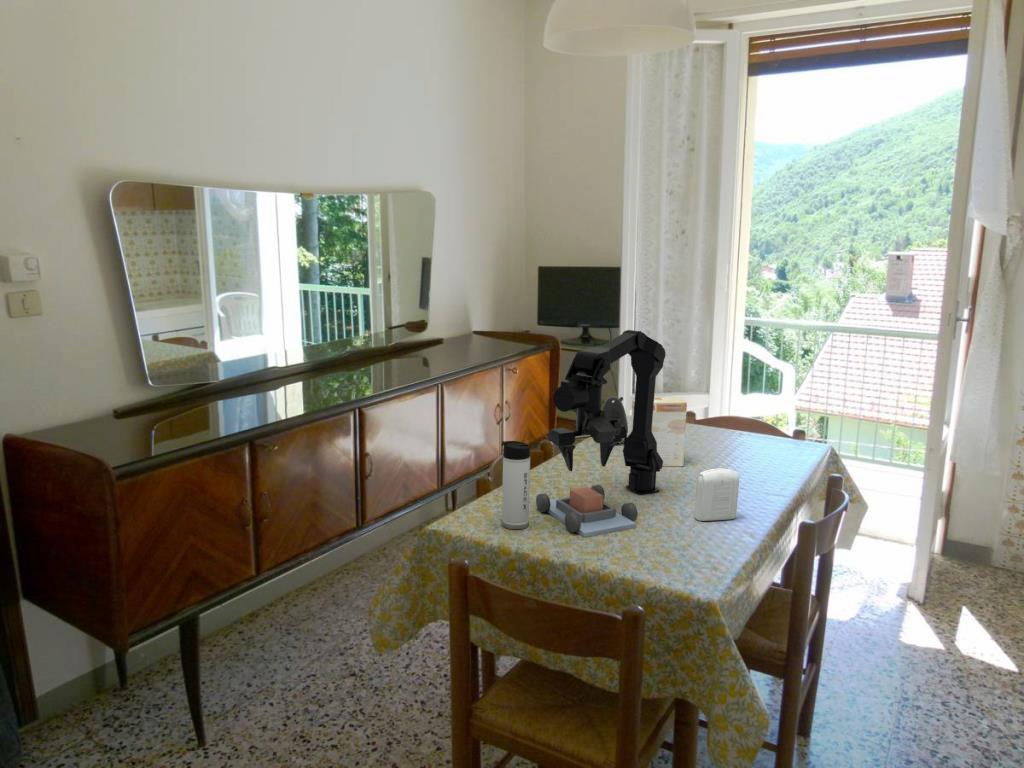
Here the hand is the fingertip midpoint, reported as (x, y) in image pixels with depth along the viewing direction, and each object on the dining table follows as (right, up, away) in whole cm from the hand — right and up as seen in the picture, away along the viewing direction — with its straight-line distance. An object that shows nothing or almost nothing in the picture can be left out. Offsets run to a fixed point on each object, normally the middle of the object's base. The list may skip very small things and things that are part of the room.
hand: (586, 468), depth 181 cm
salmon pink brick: (0, -11, +2) cm, 11 cm away
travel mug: (-17, -13, -4) cm, 22 cm away
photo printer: (+31, -12, +2) cm, 34 cm away
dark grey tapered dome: (+15, +1, +67) cm, 69 cm away
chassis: (0, -12, +2) cm, 12 cm away
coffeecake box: (+25, -4, +45) cm, 52 cm away
